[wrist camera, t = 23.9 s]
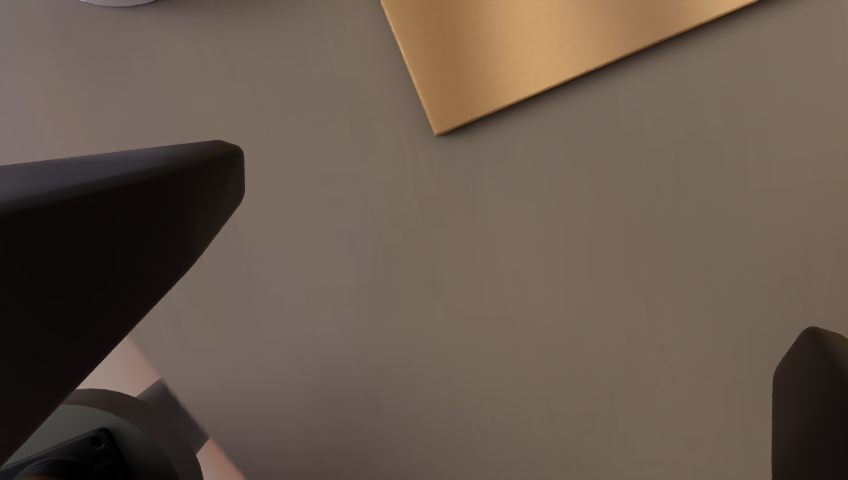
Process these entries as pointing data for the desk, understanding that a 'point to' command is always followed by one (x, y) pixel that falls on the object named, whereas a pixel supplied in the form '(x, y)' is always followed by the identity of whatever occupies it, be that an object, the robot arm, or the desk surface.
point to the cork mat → (524, 45)
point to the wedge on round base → (117, 2)
